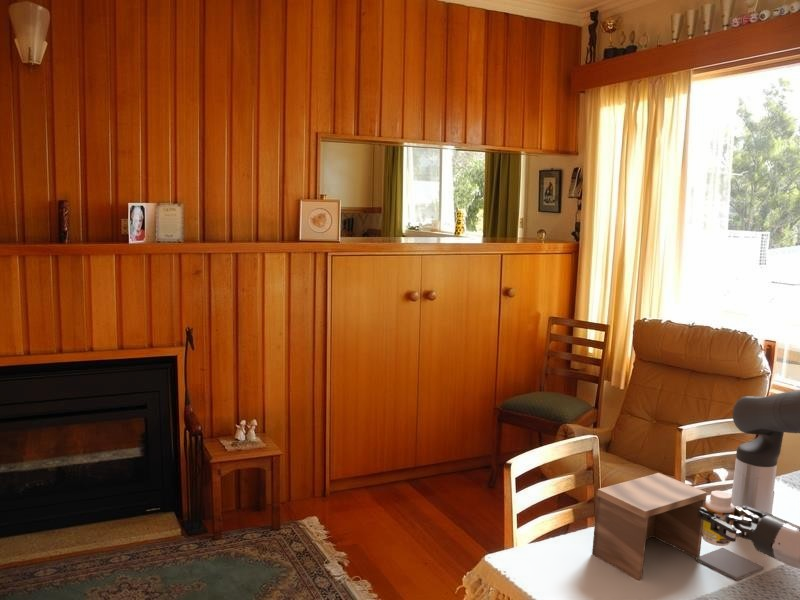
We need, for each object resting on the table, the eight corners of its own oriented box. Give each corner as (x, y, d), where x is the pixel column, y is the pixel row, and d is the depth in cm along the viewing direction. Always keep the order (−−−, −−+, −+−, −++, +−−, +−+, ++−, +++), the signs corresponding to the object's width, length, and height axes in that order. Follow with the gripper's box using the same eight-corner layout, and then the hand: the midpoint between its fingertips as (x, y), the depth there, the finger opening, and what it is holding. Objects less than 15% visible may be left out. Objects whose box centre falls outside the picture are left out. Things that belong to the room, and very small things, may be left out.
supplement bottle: (719, 549, 153) (725, 502, 152) (695, 538, 158) (701, 491, 156) (736, 543, 156) (741, 496, 155) (712, 532, 161) (717, 486, 159)
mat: (722, 549, 177) (722, 547, 177) (763, 568, 168) (763, 566, 168) (696, 560, 171) (696, 557, 171) (736, 580, 163) (736, 577, 163)
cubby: (652, 533, 183) (658, 472, 181) (699, 557, 173) (706, 492, 170) (592, 554, 172) (597, 489, 169) (638, 580, 161) (645, 511, 159)
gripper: (809, 515, 148) (730, 484, 162) (767, 532, 140) (688, 498, 154) (804, 551, 149) (726, 518, 163) (762, 570, 141) (684, 533, 155)
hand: (708, 508), depth 158 cm, fingers closed on supplement bottle, 5 cm apart
